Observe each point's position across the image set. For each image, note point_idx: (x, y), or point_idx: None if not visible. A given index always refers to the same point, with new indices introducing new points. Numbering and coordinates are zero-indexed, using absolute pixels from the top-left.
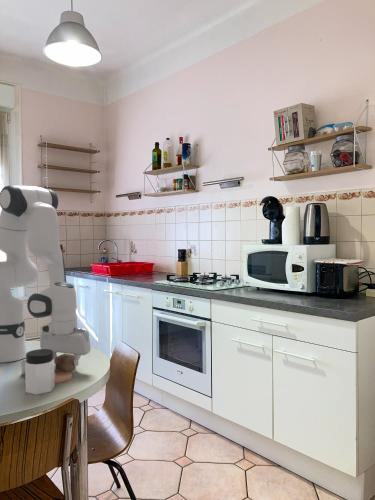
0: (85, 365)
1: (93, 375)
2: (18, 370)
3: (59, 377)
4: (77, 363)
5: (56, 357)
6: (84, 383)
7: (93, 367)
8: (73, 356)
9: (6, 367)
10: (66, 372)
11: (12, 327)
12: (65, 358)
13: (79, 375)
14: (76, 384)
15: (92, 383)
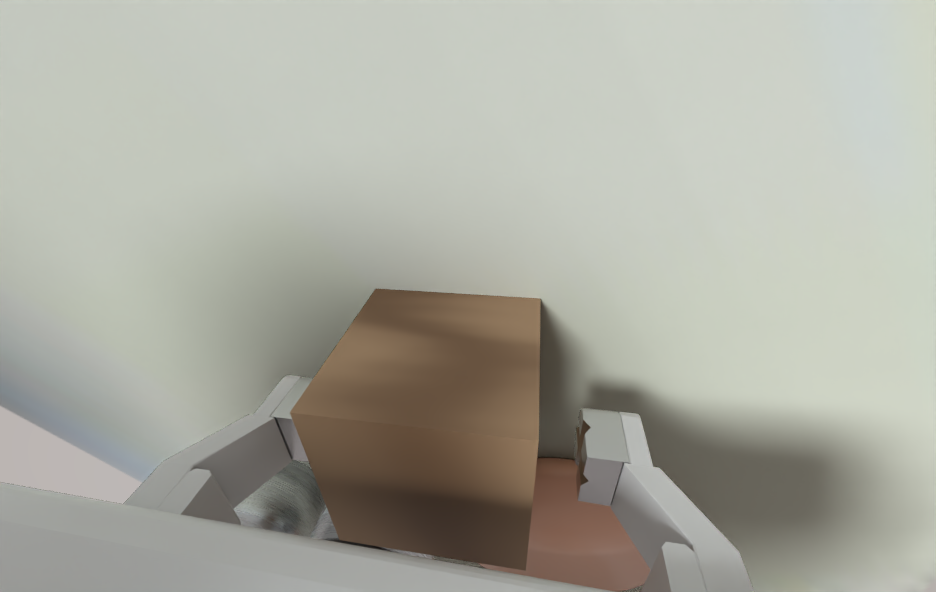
0: (623, 164)
1: (893, 445)
2: (153, 442)
3: (585, 558)
4: (641, 442)
5: (355, 541)
6: (840, 572)
7: (811, 207)
8: (535, 466)
9: (24, 412)
10: (572, 484)
11: None
12: (502, 565)
13: (713, 461)
14: (771, 584)
15: (926, 572)
